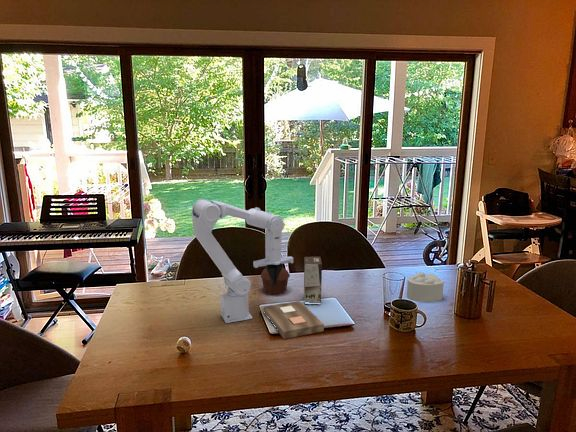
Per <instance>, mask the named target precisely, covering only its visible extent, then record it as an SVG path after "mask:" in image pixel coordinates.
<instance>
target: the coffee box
mask: <svg viewBox="0 0 576 432" xmlns="http://www.w3.org/2000/svg"><path fill="white" fill-rule="evenodd" d="M303 258H304V259H303V265H304V266H303V267H304V268H303V282H304V283H303V284H304V286H303V297H304V298H303V300H304V303H305V302H309V303H321V304H322V281H323V280H322V277H323V275H322V274H323V273H322V272H323V271H322V269H323V263H322V259H321V258H322V257H321V256H304V257H303Z"/></svg>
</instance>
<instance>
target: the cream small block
mask: <svg viewBox="0 0 576 432" xmlns="http://www.w3.org/2000/svg"><path fill="white" fill-rule="evenodd" d="M279 309H280V311H281V312H282V313H283V314H286V313H292V312H296V310H295V309H294V308H293V307H292V306H286V307H280V308H279Z"/></svg>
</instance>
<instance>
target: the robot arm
mask: <svg viewBox="0 0 576 432" xmlns="http://www.w3.org/2000/svg"><path fill="white" fill-rule="evenodd" d="M193 203H194V204H192V208H191V211H190V214H191V217H192V229H193V231H192V232H193V235H194V236H195V238H196V239H197V240H198V242H199V243H200V245H201V246H202V248H203V249H204V250H205V252H206V253H207V254H208V255H209V257H210V259H211V260H212V261H213V263H214V264H215V266H216V267H217V268H218V270H219V271H220V273H221V276H222V278H223V280H224V284H225V286H226V287H227V292H226V293H224V294H223V293H222V294H221V295H220V316H221V317H222V319H223V320H224V322H225V324H229V323H236V322H240V321H247V320H251V319H253V316H252V314H251V313H250V312H249V311H250V310H249V292H250V291H251V288H252V283H251V281H250V279H248V278H246V277H245V276H243V274H242V273H241V272H240V270H238V269H237V267H236V266H235V265H234V263H233V261H232V260H231V258H229V256H228V255H227V253H226V252H225V250H224V249H223V248H222V246H221V245H220V243H219V242H218V241H217V239H216V238H215V236H214V235H213V233H212V232H213V228H214V227H215V225H216V223H218V220H219V219H223V218H225V217H227V216H230V217H233V218H239V219H242V220H244V221H245V222H246V224H247V225H249V226H253V227H257V228H259V229H264V230H265V234H264V236H265V237H264V240H265V245H264V246H265V247H264V248H265V249H264V250H265V254H264V255H265V258H263V259H258V260H253V262H252V263H253V268H255V269H258V268H259V267H260V268H261V267H265V269H267V271H268V273H269V276H270V280H271V283H272V284H273V285H276V284H277V279H278V276H279V274H280V272H281V270H282V267H283V265H284V264H294V257H293V256H292V255H291V256H282V234H283V230H284V228H285V225H286V224H285V222H284V219H283V218H282V217H281V216H279V215H276V214H274V213H272V212H271V211H267V212H266V211H263V210H261V208H260V207H254V208H250V209H248V210H247V209H243V208H240V207H237V206H235V205H232V204H229V203H225V202H222V201H217V200H213V199H211V200H208V199H206V198H199V199H197V200H196V201H195V202H193ZM282 264H283V265H282Z"/></svg>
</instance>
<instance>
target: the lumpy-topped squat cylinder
mask: <svg viewBox="0 0 576 432" xmlns="http://www.w3.org/2000/svg"><path fill="white" fill-rule="evenodd" d="M444 283H445V282H444V280H443V279H441V278H439V277H438V276H436V275H435V274H433V273H429V274H426V273H424V272H421V271H420V272H419V271H418V273H416V274H414V275H412V276H410V277H408V278H407V286H406V298H407V299H408V300H410V301H413V302H419V303H437V302H441V301H442V300H443V295H444V294H443V293H444Z"/></svg>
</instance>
